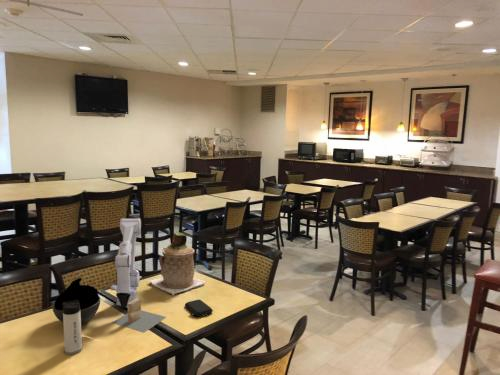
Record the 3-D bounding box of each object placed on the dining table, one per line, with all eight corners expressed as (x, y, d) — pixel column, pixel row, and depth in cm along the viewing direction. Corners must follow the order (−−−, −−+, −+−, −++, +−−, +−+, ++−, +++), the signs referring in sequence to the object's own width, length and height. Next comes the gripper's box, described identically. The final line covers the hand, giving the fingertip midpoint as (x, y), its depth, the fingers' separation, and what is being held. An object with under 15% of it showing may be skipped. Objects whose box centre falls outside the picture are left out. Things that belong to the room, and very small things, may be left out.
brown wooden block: (127, 321, 174) (127, 303, 173) (136, 316, 180) (136, 298, 178) (132, 323, 173) (131, 304, 172) (141, 317, 178) (140, 299, 177)
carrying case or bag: (181, 308, 191) (194, 320, 179) (181, 302, 191) (194, 313, 179) (200, 303, 197) (214, 314, 185) (200, 297, 197) (214, 308, 185)
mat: (111, 323, 173) (111, 322, 173) (135, 309, 188) (135, 308, 187) (144, 333, 165) (144, 332, 165) (166, 318, 180) (166, 317, 180)
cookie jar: (207, 284, 221) (208, 231, 216) (172, 297, 203) (172, 239, 199) (182, 273, 238) (182, 223, 233) (147, 283, 220) (146, 230, 215)
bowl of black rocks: (82, 336, 162) (80, 294, 159) (42, 329, 166) (40, 289, 164) (109, 315, 181) (108, 277, 178) (73, 309, 186) (72, 273, 183)
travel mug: (67, 346, 154) (65, 299, 151) (84, 345, 155) (82, 299, 152) (61, 355, 148) (58, 306, 145) (78, 354, 149) (76, 306, 146)
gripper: (105, 279, 176) (106, 307, 177) (129, 285, 170) (130, 313, 171) (116, 274, 182) (117, 301, 184) (140, 280, 176) (140, 307, 178)
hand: (124, 307), depth 178 cm, fingers closed
